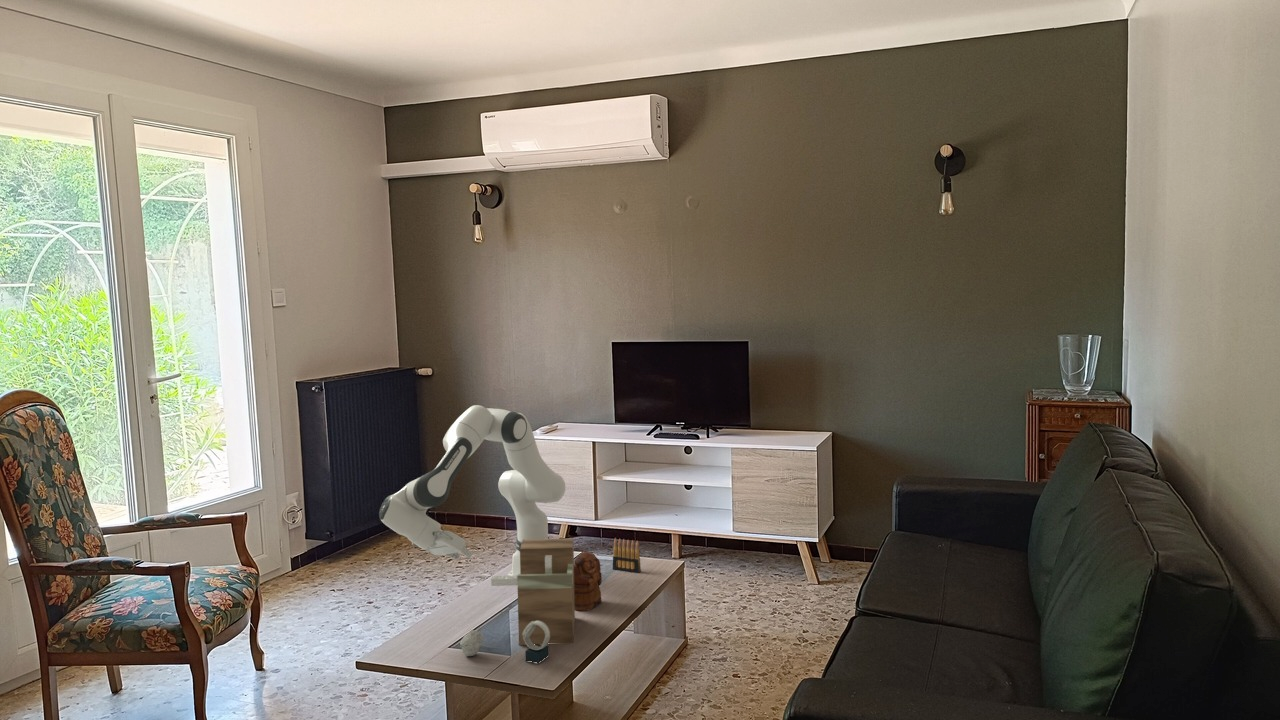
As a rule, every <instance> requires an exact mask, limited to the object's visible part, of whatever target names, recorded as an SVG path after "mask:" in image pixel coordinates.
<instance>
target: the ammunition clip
mask: <svg viewBox="0 0 1280 720" xmlns="http://www.w3.org/2000/svg"><path fill="white" fill-rule="evenodd" d="M612 551H613V554H612V555H613V556H612V570H613V571H617V572H618V571H620V572H625V573H635V574H640V573H641V572H642V569H641V558H640V553H641V552H640V546H639V540H636V541H635V542H634V540H633V539H632V540H631V542H630V540H629V539H627V541H626V540H625V538H623V540H621V538H619V539H618V540H617V537H614V540H613V549H612Z"/></svg>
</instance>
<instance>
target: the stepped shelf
mask: <svg viewBox="0 0 1280 720" xmlns="http://www.w3.org/2000/svg"><path fill="white" fill-rule="evenodd" d="M574 553H575V549H574V538H573V537H572V538H571V537H569V538H549V539H523V540H522V544H521V547H520V574H518V575H517V585H516V586H517V617H518V618H517V620H518V621H517V622H518V645H519V646H527V645H526V643H525V642H526V641H524V640H523V635H522V633H523V631H524V629H525V628H526V626H527V625H528V624H529V623H530V622H532V621H534V622H535V621H536V620H538V621H542V622H544V623H545V624H546V625H547V626H548V628H549V631H550V639H549V642H548V643H573V644H574V637H573V636H574V633H575V622H576V621H575V619H576V615H575V614H576V613H575V611H576V610H575V601H574V564H575V563H574V562H575V557H574V555H575V554H574ZM545 555H552V574H545ZM545 628H546V627H545ZM529 638H530V640H531V642H532V643H533V644H541V645H542V643H543V641H544V638H545V632H544V630H543V629H542V628H541V627H540V626H538V625H536V628H535V630H534V631H533V632H532V634H531V635H530V637H529Z"/></svg>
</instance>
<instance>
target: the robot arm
mask: <svg viewBox="0 0 1280 720" xmlns="http://www.w3.org/2000/svg"><path fill="white" fill-rule="evenodd" d="M484 440H487V441H489V442H497V443H502V445H503V449H504V451H505V455H506V458H507V463H508V464H509V466H510V467H511V468H512V469H511V470H505V471H504V472H503V473H502V474H501V475H500V477H499V480H498V483H497V486H498V491H499V493H500V494H501V496H503V498H505V499H506V501H508V503H509V505H510V506H511V508H512V511H513V512H514V516H515V521H516V522H515V523H516V534H517V535H516V536H517V537H516V539H515V546H516V547H515V548H516V551H515V552H514V553H513V554H512V560H511V561H512V562H511V565H512V566H511V567H512V568H511V570H510V571H509V572H508V573H507V576H514V575H518V574H520V547H521V544H522V540H523V539H550V537H549V526H548V525H549V523H548V521H549V520H548V516H547V515H546V513H545V511H543V510H541V509H540V508H539V507H538V505H537V504H536V503H543V504H547V503H548V504H549V503H550V504H551V503H556V502H557V503H558V502H560V501H561V500H562V498H563V497H564V495H565V493H566V492H565V491H566V482H565V479H564V478H563V477H562V476H561V474H558V473H556V472H555V471H554V470H553V469H552V468H551V467H549V466H548V464H547V463H546V461H544V459H543V458H542V456H541V454H540V452H539V448H538V445H537V443H536V439H535V435H534V432H533V429H532V427H531V425H530V423H529V420H528V419H527V416H525V414H523V413H522V412H516V411H510V410H507V409H502V408H491V407H489V408H488V407H485V406H484V405H480V404H479V405H478V404H476V405H475V404H474V405H471V406H470V407H469V408H468V407H467V409H466V410H465V411H464V412H463V413H462V414H461V415H459V416H458V417H457V418H456V420H455V421H454V422H453V423H452V424H451V425H450V427H449V428H448V429H447V431H446V433H445V434H444V437H443V439H442V444H443V448H444V450H445V454H444V455H443V456H442V458H441V460H440V461H439V462H438V464H437V465H436V467H434V469H433V470H431V471H429V472H427V473H425V474H422V475H421V476H420V477H417V478H416V479H413V480H411V481H409V482H408V483H406V484H405V486H403V487H402V488H401V489H400V490H399V491H397V492H395V493H393V494H391V495H388V496H387V497H386V498H385V499H384V500H383V502H382V504H381V506H380V508H379V512H378V516H379V517H378V518H379V520H380V521H381V523H383V524H384V525H385V526H386V527H388V528H389V529H390V530H392V531H394V532H396V534H398V535H400V536H403V537H405V538H407V540H408V541H410V542H411V546H414V547H415V548H421V549H422V550H424V551H425V552H427V553H430V554H432V555H434V556H442V555H443V556H446V557H449V558H451V559H452V560H459V558H460V556H461V555H460V554H462V555H463V556H464V557H465V558H466V559H470V558H472V556H473V552H472V551H471V550H469V549H468V547H466V545H467V540H465V539H464V538H462V537H461V536H459V535H458V534H456V533H454V532H452V531H450V530H445V529H444V530H442V529H441V527H442V524H441V523H439V522H438V521H437V520H435V519H433V518H432V517H430V516H428V515H427V514H426V513H427V511H428V509H431V508H434V507H439V506H441V505H442V504H444V503H445V502H446V500H447V499H448V497H449V495H450V491H451V486H452V483H453V481H454V480H455V478H456V476H457V475H458V473H459V471H460V470H461V469H462V467H463V466H464V464H465V462H466V461H467V460H468V458H470V457H471V456H472V455H473V454H474V453H475V451H477V449H479V447H480V445H481V444H482V443H483V442H484Z"/></svg>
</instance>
